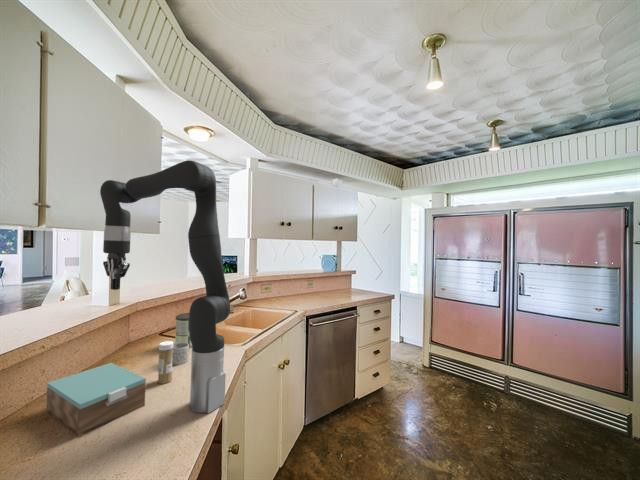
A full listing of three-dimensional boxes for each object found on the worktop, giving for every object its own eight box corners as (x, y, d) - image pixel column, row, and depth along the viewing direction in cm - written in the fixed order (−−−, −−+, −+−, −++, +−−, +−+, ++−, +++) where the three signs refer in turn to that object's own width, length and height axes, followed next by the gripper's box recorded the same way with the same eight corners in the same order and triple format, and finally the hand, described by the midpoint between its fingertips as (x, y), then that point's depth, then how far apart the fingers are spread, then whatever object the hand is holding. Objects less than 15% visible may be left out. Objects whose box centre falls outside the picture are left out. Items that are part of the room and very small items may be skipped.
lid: (147, 385, 84) (148, 379, 84) (82, 413, 69) (82, 405, 69) (110, 368, 94) (111, 362, 94) (47, 389, 80) (47, 382, 80)
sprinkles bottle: (172, 382, 98) (174, 343, 98) (157, 385, 96) (159, 346, 96) (171, 376, 102) (172, 339, 102) (157, 379, 100) (158, 341, 100)
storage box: (146, 406, 84) (147, 383, 84) (80, 438, 70) (81, 410, 70) (110, 387, 94) (111, 366, 94) (46, 411, 80) (47, 387, 80)
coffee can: (180, 341, 138) (181, 312, 138) (201, 341, 139) (202, 312, 139) (170, 348, 128) (171, 318, 128) (193, 349, 128) (194, 318, 128)
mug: (179, 357, 119) (180, 341, 119) (191, 360, 117) (192, 344, 117) (159, 366, 110) (159, 349, 110) (171, 369, 108) (172, 352, 108)
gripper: (139, 240, 97) (137, 290, 97) (119, 239, 103) (116, 286, 103) (115, 239, 91) (113, 293, 90) (95, 238, 97) (92, 288, 97)
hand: (115, 289), depth 97 cm, fingers closed
